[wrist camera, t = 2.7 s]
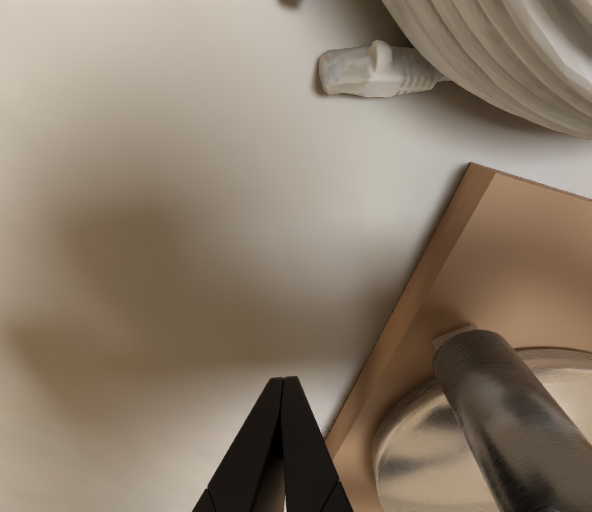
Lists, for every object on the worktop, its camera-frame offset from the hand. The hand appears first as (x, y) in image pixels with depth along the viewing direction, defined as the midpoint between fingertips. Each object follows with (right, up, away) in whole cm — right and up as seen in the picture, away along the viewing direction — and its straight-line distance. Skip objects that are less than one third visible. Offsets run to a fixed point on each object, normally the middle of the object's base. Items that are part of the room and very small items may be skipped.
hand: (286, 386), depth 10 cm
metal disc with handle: (+9, -4, +4) cm, 11 cm away
